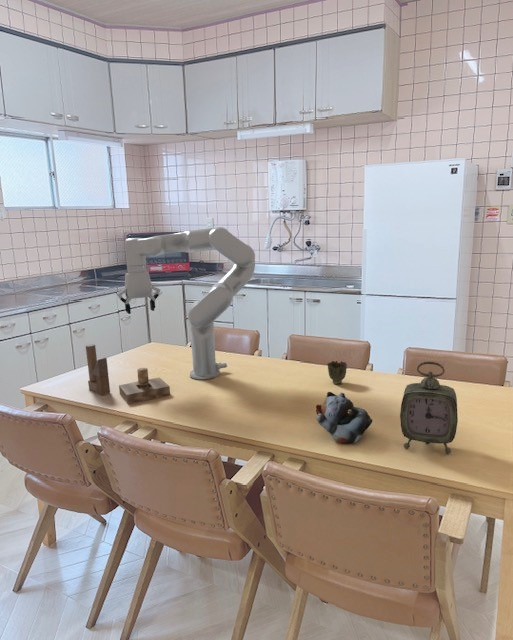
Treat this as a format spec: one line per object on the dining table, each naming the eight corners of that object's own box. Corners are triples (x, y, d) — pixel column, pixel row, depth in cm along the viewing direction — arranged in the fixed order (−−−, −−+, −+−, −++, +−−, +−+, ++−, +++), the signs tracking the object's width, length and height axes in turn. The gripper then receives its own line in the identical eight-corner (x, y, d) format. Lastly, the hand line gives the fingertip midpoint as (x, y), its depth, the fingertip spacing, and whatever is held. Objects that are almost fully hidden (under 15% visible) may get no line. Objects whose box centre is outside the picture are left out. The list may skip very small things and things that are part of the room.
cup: (325, 385, 187) (325, 365, 185) (330, 379, 194) (329, 360, 192) (344, 387, 184) (344, 367, 183) (348, 381, 191) (348, 361, 189)
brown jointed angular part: (102, 395, 186) (96, 350, 182) (88, 389, 193) (83, 345, 189) (110, 392, 188) (105, 347, 184) (97, 386, 196) (92, 343, 192)
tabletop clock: (399, 450, 135) (401, 364, 130) (401, 436, 143) (404, 354, 138) (455, 458, 130) (460, 368, 124) (455, 443, 138) (459, 358, 133)
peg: (148, 391, 187) (146, 367, 185) (151, 395, 184) (148, 369, 182) (138, 393, 186) (136, 368, 184) (141, 397, 182) (138, 371, 180)
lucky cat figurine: (350, 450, 136) (325, 407, 135) (323, 450, 146) (300, 411, 145) (380, 420, 144) (357, 379, 144) (353, 422, 154) (332, 385, 154)
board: (160, 385, 194) (159, 377, 193) (170, 394, 183) (169, 386, 183) (119, 394, 186) (118, 385, 186) (127, 404, 176) (126, 394, 175)
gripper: (155, 266, 201) (158, 307, 204) (112, 270, 193) (117, 313, 196) (161, 268, 194) (164, 310, 198) (117, 272, 186) (121, 316, 190)
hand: (140, 311), depth 197 cm, fingers open, 9 cm apart
